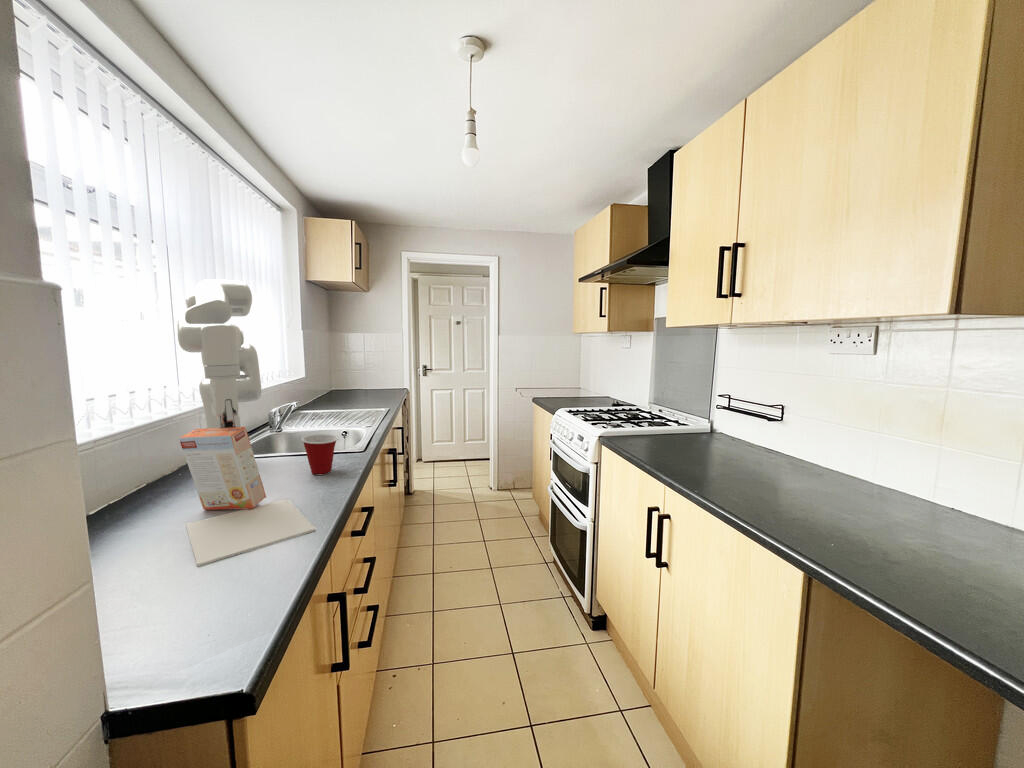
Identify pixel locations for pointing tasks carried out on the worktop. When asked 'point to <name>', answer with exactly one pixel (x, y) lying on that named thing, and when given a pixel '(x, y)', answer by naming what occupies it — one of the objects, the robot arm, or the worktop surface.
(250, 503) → the cracker box
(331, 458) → the plastic cup
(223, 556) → the mat
